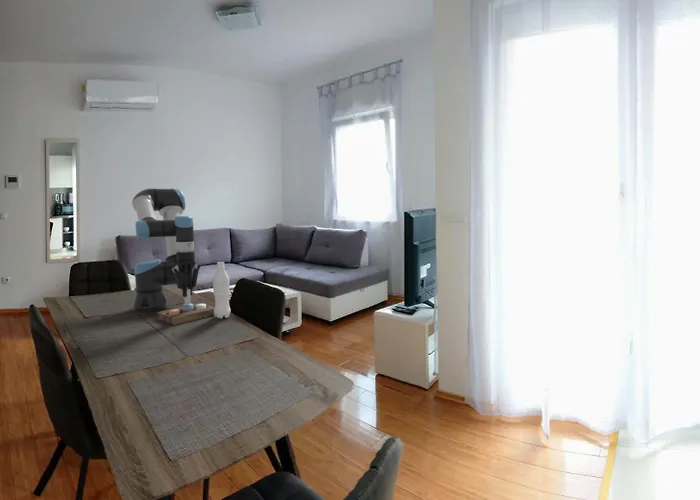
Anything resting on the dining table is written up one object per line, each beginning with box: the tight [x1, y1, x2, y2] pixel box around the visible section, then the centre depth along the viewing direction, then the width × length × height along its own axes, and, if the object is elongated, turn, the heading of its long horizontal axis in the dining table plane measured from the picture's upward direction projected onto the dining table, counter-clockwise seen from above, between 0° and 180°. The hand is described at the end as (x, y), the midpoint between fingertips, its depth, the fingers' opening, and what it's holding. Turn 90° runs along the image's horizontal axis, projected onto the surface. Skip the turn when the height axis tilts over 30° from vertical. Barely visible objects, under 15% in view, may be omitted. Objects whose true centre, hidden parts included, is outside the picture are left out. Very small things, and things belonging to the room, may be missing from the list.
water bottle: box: [212, 261, 231, 320], centre depth 184 cm, size 7×7×25 cm
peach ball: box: [169, 308, 180, 316], centre depth 181 cm, size 4×4×4 cm
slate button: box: [182, 302, 194, 312], centre depth 186 cm, size 4×4×4 cm
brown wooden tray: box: [156, 302, 215, 326], centre depth 186 cm, size 14×21×3 cm, turn 142°
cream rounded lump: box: [196, 303, 207, 309], centre depth 191 cm, size 4×4×4 cm
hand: (187, 303), depth 185 cm, fingers closed
